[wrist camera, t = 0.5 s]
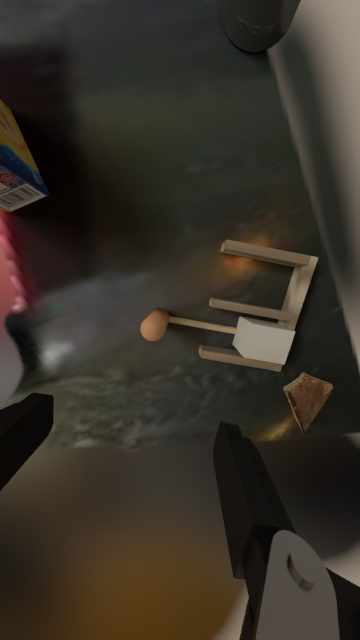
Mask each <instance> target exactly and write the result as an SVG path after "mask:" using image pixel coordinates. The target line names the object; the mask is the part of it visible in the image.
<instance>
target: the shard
mask: <svg viewBox="0 0 360 640" xmlns="http://www.w3.org/2000/svg"><path fill="white" fill-rule="evenodd" d="M332 388H333V387H332V384H330V383H329V382H326V381H323V380H320V379H317V378H314V377H312V376H310V375H308V374H306V373H304V372H302V373H301V375H300V376H299V377H298V378H297V379H296V380H295V381H293V382H292V383H290V384H288V385H287V386H285V387H283V390H284V392H285V394H286V395H287V398H288V401H289V403H290V404H291V407H292V411H293V413H294V416H295V419H296V421H297V422H298V424H299V426H300V427H301V430H302V433H303V434H304V433H305V431H306V429H307V428H308V427H309V425H310V422H311V421H312V420H313V419H314V417H315V416H316V415H317V414H318V412H319V410H320V409H321V408H322V406H323V405H324V403H325V401H326V400H327V398H328V396H329V394H330V392H331V391H332Z"/></svg>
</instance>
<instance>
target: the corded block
mask: <svg viewBox="0 0 360 640" xmlns="http://www.w3.org/2000/svg"><path fill="white" fill-rule="evenodd" d="M168 322H171V323H176V324H182V325H187V326H193V327H199V328H204V329H210V330H215V331H221V332H227V333H232V334H235V337H234V340H233V345H234V347H235V348H236V349H237V350H238V351H239V353H240V354H241V355H242V356H243V357H244V358H249V359H254V360H260V361H266V362H272V363H277V364H283V365H285V362H286V359H287V356H288V353H289V350H290V347H291V344H292V341H293V338H294V335H295V331H293V330H291V329H288V328H286V327H284V326H281V325H279V324H277V323H274V322H269V321H263V320H258V319H252V318H247V317H241V316H240V317H239V321H238V325H237V328H234V327H229V326H223V325H218V324H212V323H206V322H201V321H195V320H190V319H184V318H179V317H173V316H169V313H168V312H167V310H165V309H163V308H157V309H155V310H154V311H153V312H152V313H151V314H150V315H149V316H148V317H147V318H146V319H145V320H144V321H143V323H142V325H141V333H142V335H143V337H144V338H146V339H147V340H149V341H157V340H159V339H161V338H162V337H163V335H164V333H165V330H166V327H167V324H168Z"/></svg>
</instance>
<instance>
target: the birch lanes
mask: <svg viewBox="0 0 360 640" xmlns="http://www.w3.org/2000/svg"><path fill="white" fill-rule="evenodd" d="M220 253H225V254H230V255H235V256H241V257H246V258H251V259H256V260H261V261H266V262H272V263H277V264H282V265H287V266H292V267H295V268H294V271H293V274H292V278H291V281H290V284H289V287H288V291H287V294H286V297H285V300H284V304H283V307H282V310H277V309H271V308H266V307H260V306H255V305H250V304H244V303H239V302H233V301H228V300H222V299H217V298H212V297H210V301H209V305H210V306H211V307H215V308H220V309H226V310H231V311H237V312H242V313H248V314H253V315H259V316H264V317H269V318H275V319H279V320H278V323H277V324H279V325H281V326H284V327H286V328H288V329H291V330H293V331H294V329H295V326H296V323H297V320H298V317H299V314H300V311H301V308H302V305H303V302H304V299H305V296H306V293H307V290H308V287H309V284H310V281H311V278H312V275H313V272H314V269H315V266H316V263H317V260H318V257H313V256H308V255H303V254H298V253H293V252H287V251H282V250H277V249H272V248H267V247H262V246H257V245H252V244H247V243H241V242H236V241H231V240H226V241H225V242H224V243H223V244H222V246H221V251H220ZM199 354H200V357H201V358H205V359H210V360H216V361H222V362H228V363H233V364H239V365H245V366H251V367H256V368H262V369H268V370H274V371H279V372H280V371H281V368H282V365H283V364H277V363H272V362H266V361H260V360H254V359H249V358H244V357H243V356H242V355H241V354H240V353H239V351H236V350H231V349H225V348H219V347H214V346H208V345H202V344H200V347H199Z"/></svg>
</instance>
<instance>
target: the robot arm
mask: <svg viewBox="0 0 360 640" xmlns="http://www.w3.org/2000/svg"><path fill="white" fill-rule="evenodd" d="M300 1H301V0H220V7H219V10H220V17H221V22H222V25H223V28H224V30H225V32H226V34H227V36H228V38H229V39H230V40H231V41H232V42H233V43H234V44H235V45H236V46H237V47H239V48H240V49H242V50H245V51H248V52H260V51H264V50H266V49H269V48H271V47H272V46H273V45H275V44H276V43H277V42H278V41H279V40H280V39H281V38H282V37H283V36H284V34H285V33H286V31H287V29H288V28H289V26H290V24H291V21H292V19H293V17H294V15H295V12H296V10H297V8H298V5H299V3H300ZM53 403H54V399H53V396H52V395H48V394H41V393H32V394H30V395H29V396H27V397H26V398H25V399H23V400H22V401H21V402H19V403H14V404H12V405H10V406H8V407H6V408H3V409H1V410H0V491H1V490H2V488H3V487H4V486H5V485H6V484H7V483H8V482H9V480H10V479H11V478H12V477H13V476H14V475H15V473H16V472H17V471H18V470H19V469H20V468H21V467H22V465H23V464H24V463H25V462H26V461H27V460H28V458H29V457H30V456H31V455H32V454H33V453H34V451H35V450H36V449H37V448H38V447H39V446H40V445H41V443H42V442H43V441H44V440H45V439H46V438H47V436H48V435H49V433H50V431H51V429H52V426H53ZM213 463H214V469H215V475H216V480H217V486H218V492H219V497H220V503H221V509H222V514H223V520H224V526H225V532H226V537H227V543H228V549H229V554H230V560H231V565H232V571H233V577H234V578H237V579H245V581H246V585H247V590H248V595H249V599H248V603H247V606H246V611H245V616H244V620H243V625H242V629H241V634H240V639H239V640H360V587H359V586H357V585H355V584H353V583H351V582H350V581H348V580H346V579H344V578H343V577H341V576H339V575H337V574H335V573H334V572H332V571H331V570H329V569H328V568H326V567H325V566H324V564H323V563H322V561H321V560H320V558H319V557H318V555H317V554H316V553H315V551H314V550H313V549H312V548H311V547H310V546H309V545H308V544H307V543H306V542H305V541H304V540H303V539H302V538H300V537H299V536H298V535H297V534H296V532H295V530H294V528H293V526H292V523H291V521H290V519H289V517H288V515H287V512H286V510H285V508H284V506H283V504H282V502H281V499H280V497H279V495H278V493H277V490H276V488H275V486H274V484H273V482H272V479H271V477H269V473H268V470H267V468H266V466H265V465H264V462H263V459H262V457H261V455H260V453H259V451H258V449H257V448H256V446H255V445H254V444H253V443H252V442H251V440H250V439H249V438H244V437H243V436H242V433H241V431H240V428H239V426H238V424H236V423H229V422H223V421H221V422H220V424H219V428H218V432H217V436H216V439H215V443H214V448H213Z"/></svg>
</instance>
